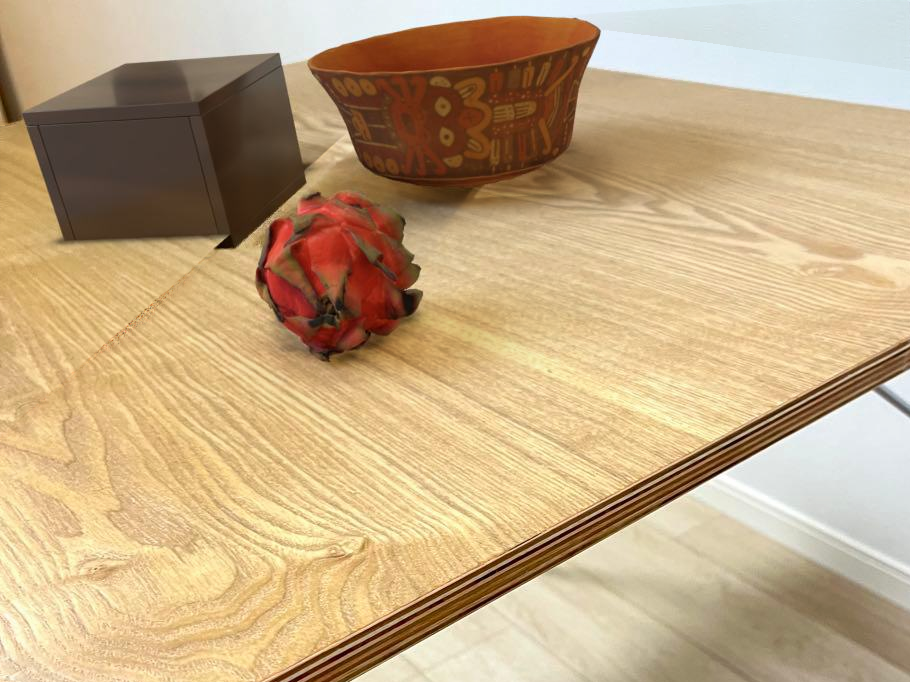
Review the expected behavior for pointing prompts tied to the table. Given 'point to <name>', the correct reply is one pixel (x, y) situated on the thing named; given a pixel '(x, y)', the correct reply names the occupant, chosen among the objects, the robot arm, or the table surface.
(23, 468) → the table surface
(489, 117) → the bowl
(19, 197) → the table surface
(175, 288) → the table surface
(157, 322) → the table surface
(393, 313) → the dragon fruit
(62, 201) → the cabinet
